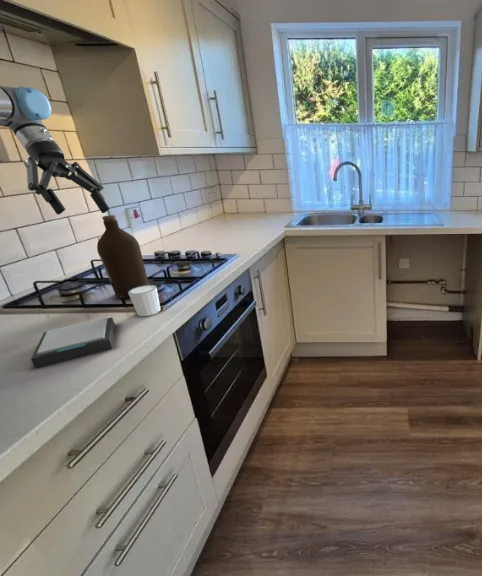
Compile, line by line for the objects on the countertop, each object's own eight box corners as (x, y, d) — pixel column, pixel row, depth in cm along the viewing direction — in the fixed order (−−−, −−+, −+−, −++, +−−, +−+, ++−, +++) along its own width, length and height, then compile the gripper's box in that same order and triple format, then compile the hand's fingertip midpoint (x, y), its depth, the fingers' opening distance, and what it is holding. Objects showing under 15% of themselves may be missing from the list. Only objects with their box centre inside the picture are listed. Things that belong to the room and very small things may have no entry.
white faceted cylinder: (147, 318, 100) (139, 295, 97) (129, 315, 102) (121, 292, 99) (168, 308, 106) (162, 286, 103) (151, 305, 108) (144, 283, 105)
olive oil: (155, 285, 123) (133, 211, 113) (148, 296, 114) (124, 217, 104) (119, 289, 120) (93, 214, 110) (109, 302, 110) (80, 221, 101)
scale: (35, 368, 79) (29, 356, 78) (47, 340, 90) (42, 330, 89) (112, 348, 86) (108, 337, 85) (115, 325, 97) (111, 315, 96)
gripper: (-3, 131, 91) (47, 205, 94) (90, 146, 115) (129, 204, 118) (-20, 147, 93) (30, 219, 96) (76, 159, 117) (114, 216, 120)
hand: (85, 211), depth 107 cm, fingers open, 13 cm apart
